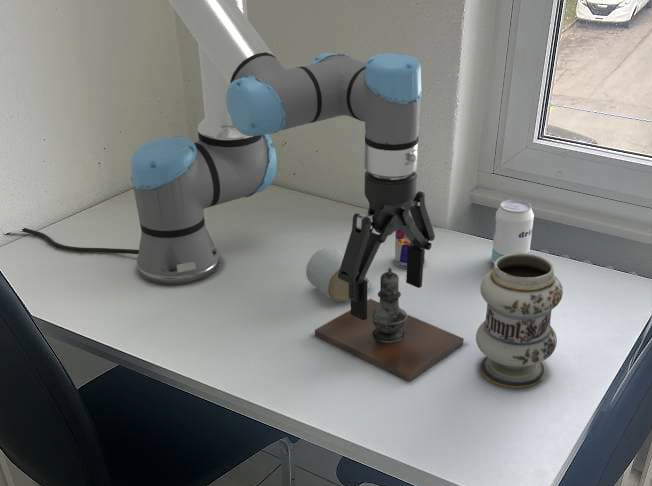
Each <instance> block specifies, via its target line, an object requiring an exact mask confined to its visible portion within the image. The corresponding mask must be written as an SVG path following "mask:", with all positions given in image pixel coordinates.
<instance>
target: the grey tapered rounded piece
mask: <svg viewBox="0 0 652 486" xmlns="http://www.w3.org/2000/svg"><path fill="white" fill-rule="evenodd" d="M399 277H400V276H399V275H398V274H397V273H396V272H394V271H393V269H392V268H391V267H389V268H388V269H387V271H386V272H384V273H382V275H381V276H380V278H379V279H380V280H379V281H380V282H379V283H380V287H379V288H380V290H379V291H378V293H377V297H378V298H379V303H380V306H379V308H377V309H375V310H374V311H372V313H371V318H372V320H373V323H374V325H375V327H376V329H374V331H373V337H374V338H375V339H376V340H378V341H380V342H385V343H393V342H398V341H400V340H402V339H403V338H404V336H405V332H404V330H403V329H401V328H402V327H403V325H404V323H405V320H406V319H407V315H408V313H407V311H405V309H403V308H401V307H400V306H399V305H400V304H399V303H400V298H401V296H402V292H401V291H399V289H400V287H399V285H400V278H399Z"/></svg>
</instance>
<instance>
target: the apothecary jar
mask: <svg viewBox="0 0 652 486" xmlns="http://www.w3.org/2000/svg"><path fill="white" fill-rule="evenodd" d="M563 289H564V288H563V285H562V283H561V281H560V280H559V278H558V277H557V276H556V275H555V268H554V265H553V263H552V261H550V260H548V259H547V258H545V257H543V256H541V255H537V254H532V253H529V254H526V253H515V254H509V255H505V256H502V257H500V258H498V259H497V260H496V261H495V263H493V267H492V269H491V270H490V271H488V272H487V273H486V275H484V277H483V278H482V280H481V282H480V286H479V290H480V295H481V297H482V298H483V300H484V301H485V302H486V312H485V313H486V315H485V320H484V321H483V322H481V324H480V325H479V326H478V328H477V330H476V334H475V342H476V346H477V347H478V349H479V350H480V352H481V353H482V354H483V355H485V357H484V358H483V359H482V360H481V362H480V371H481V374H482V375H483V376H484V378H485V379H487V380H488V381H490V382H491V383H493V384H495V385H498V386H501V387H506V388H511V389H519V388H520V389H521V388H529V387H531V386H534V385H536V384H538V383H540V382H541V381H542V380H543V378H544V377H545V374H546V369H545V365H544V364H543V362H544V361H547V359H549V358H550V357H551V356H552V355H553V353H554V352H555V350H556V347H557V345H558V339H557V334H556V331H555V330H554V328H553V326H551V317H552V310H554V309H555V308H556V307H557V306H558V305H559V304H560V302H561V301H562V298H563V295H564V290H563Z"/></svg>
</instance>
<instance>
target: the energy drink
mask: <svg viewBox="0 0 652 486" xmlns="http://www.w3.org/2000/svg"><path fill="white" fill-rule="evenodd" d="M409 215H410V216H411V218H412V215H411V212H410V210H409ZM412 219H413V218H412ZM394 232H395V233H394V235H395V240H394V263H395V264H396V266H398V267H399V268H402V269H406V270H407V252H408V246H410V245H411V246H414V245H413V244H412V243H411V242H410V241H409V239H408V238H407V237H406V235H405V234H404V233H403V232H402V230H399V231H394Z"/></svg>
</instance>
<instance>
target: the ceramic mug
mask: <svg viewBox="0 0 652 486" xmlns="http://www.w3.org/2000/svg"><path fill="white" fill-rule="evenodd" d="M343 257H344V254H343V253H342V252H341V251H339V250H337V249H336V248H334V247H323V248H320V249H318V250H317V251H315V253H313V254H312V255H311V257H310V258H309V259H308V262H307V264H306V268H305V272H306V274H305V275H306V278H307V281H308V282H309V284H311V285H312V286H313V287H315V288H316V289H317V290H318V291H319V292H321V293H322V294H323V295H325V296H326V298H328V299H330V300H332V301H334V302H337V303H343V302H344V303H345V302H348V301H349V300H350V299H349V283H347V282H345V281H343V280H341V279H339V278H338V273H339V270H340V267H341V264H342V260H343ZM358 273H359V272H358ZM358 273H357V274H358ZM364 280H366V281H367V291H368V290H369V288H370V285H371V283H372V282H371V279H369V278H368V277H367V275H366V276H365V278H364Z"/></svg>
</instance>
